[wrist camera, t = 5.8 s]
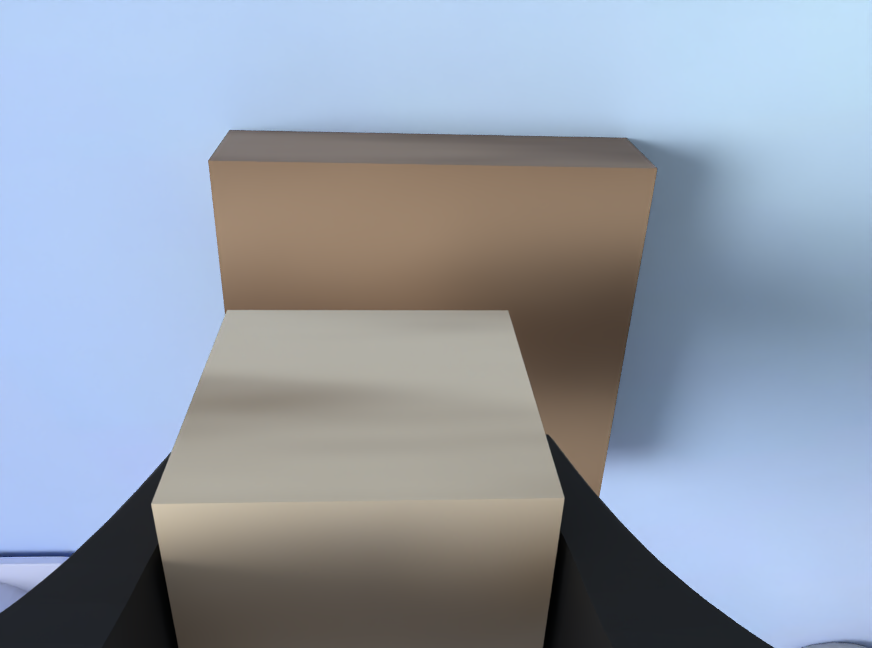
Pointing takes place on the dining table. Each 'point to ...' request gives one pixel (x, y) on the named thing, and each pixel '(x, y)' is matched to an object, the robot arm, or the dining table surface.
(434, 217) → the walnut block
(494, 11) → the dining table surface
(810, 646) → the cup
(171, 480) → the maple block
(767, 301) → the dining table surface
